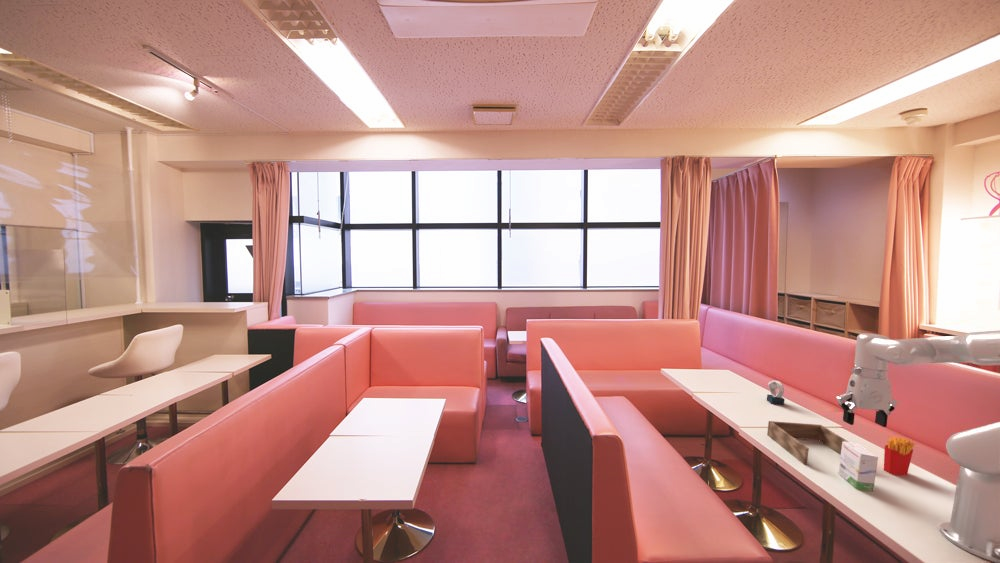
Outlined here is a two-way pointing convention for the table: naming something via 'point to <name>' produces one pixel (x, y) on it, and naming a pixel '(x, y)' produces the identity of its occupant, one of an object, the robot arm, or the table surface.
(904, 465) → the french fries
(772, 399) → the watch
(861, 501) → the table surface
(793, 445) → the brown wooden angled piece
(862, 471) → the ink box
